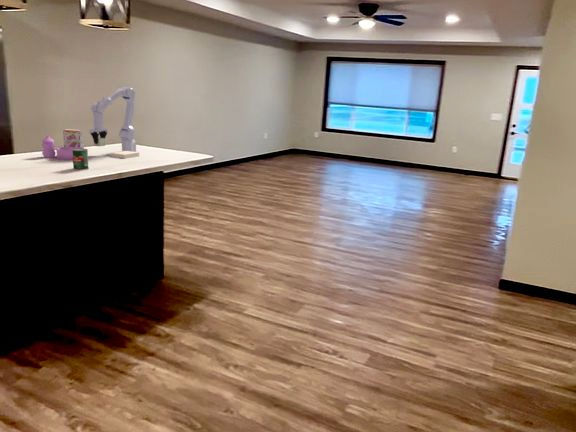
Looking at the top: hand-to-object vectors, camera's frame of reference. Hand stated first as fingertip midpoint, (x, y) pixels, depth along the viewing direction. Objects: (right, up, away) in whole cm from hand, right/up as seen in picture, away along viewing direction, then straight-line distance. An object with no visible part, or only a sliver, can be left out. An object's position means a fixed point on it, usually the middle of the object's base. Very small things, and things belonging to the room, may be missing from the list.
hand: (99, 143), depth 327 cm
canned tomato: (+7, -21, -46) cm, 52 cm away
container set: (-17, -12, -15) cm, 26 cm away
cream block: (+15, -9, +4) cm, 18 cm away
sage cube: (0, -2, 0) cm, 2 cm away
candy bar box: (-15, -8, -2) cm, 18 cm away
